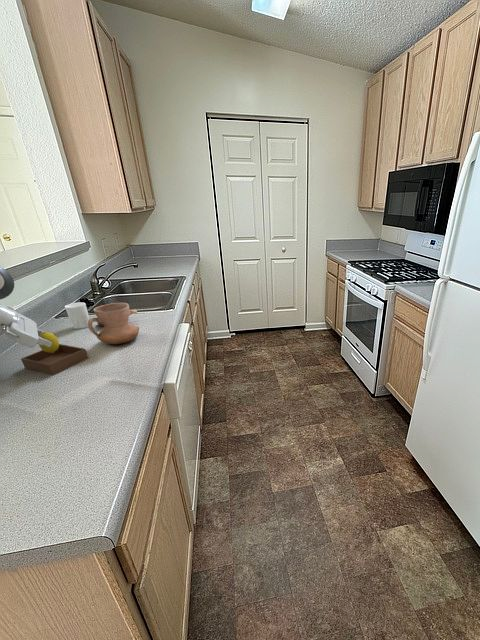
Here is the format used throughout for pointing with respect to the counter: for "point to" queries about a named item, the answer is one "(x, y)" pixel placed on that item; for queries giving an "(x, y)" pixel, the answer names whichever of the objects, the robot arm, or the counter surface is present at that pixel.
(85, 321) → the white cup
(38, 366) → the tray
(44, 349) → the lemon
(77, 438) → the counter surface
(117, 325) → the ceramic jug
